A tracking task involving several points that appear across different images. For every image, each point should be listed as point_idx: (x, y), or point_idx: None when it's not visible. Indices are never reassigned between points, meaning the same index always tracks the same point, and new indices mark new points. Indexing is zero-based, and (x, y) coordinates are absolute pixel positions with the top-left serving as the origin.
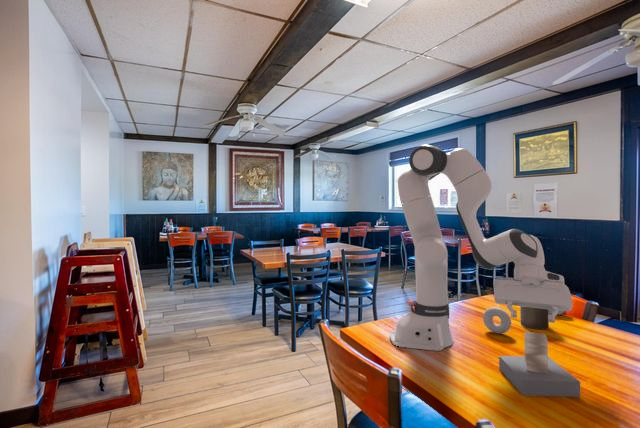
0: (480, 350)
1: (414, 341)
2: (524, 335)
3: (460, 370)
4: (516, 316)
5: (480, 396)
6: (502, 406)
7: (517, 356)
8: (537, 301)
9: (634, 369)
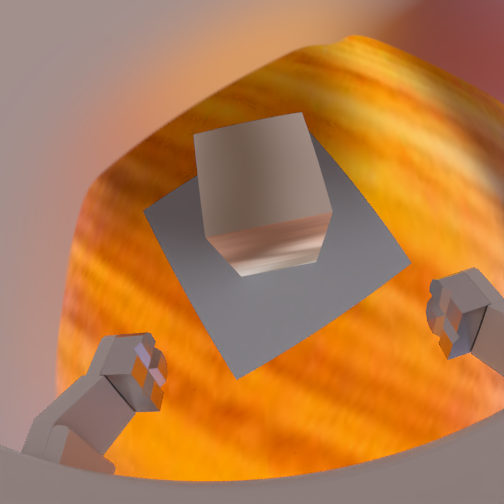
0: (471, 389)
1: None
2: (329, 221)
3: (469, 191)
4: (431, 288)
5: (374, 93)
6: (322, 81)
7: (351, 304)
8: (214, 501)
9: None
